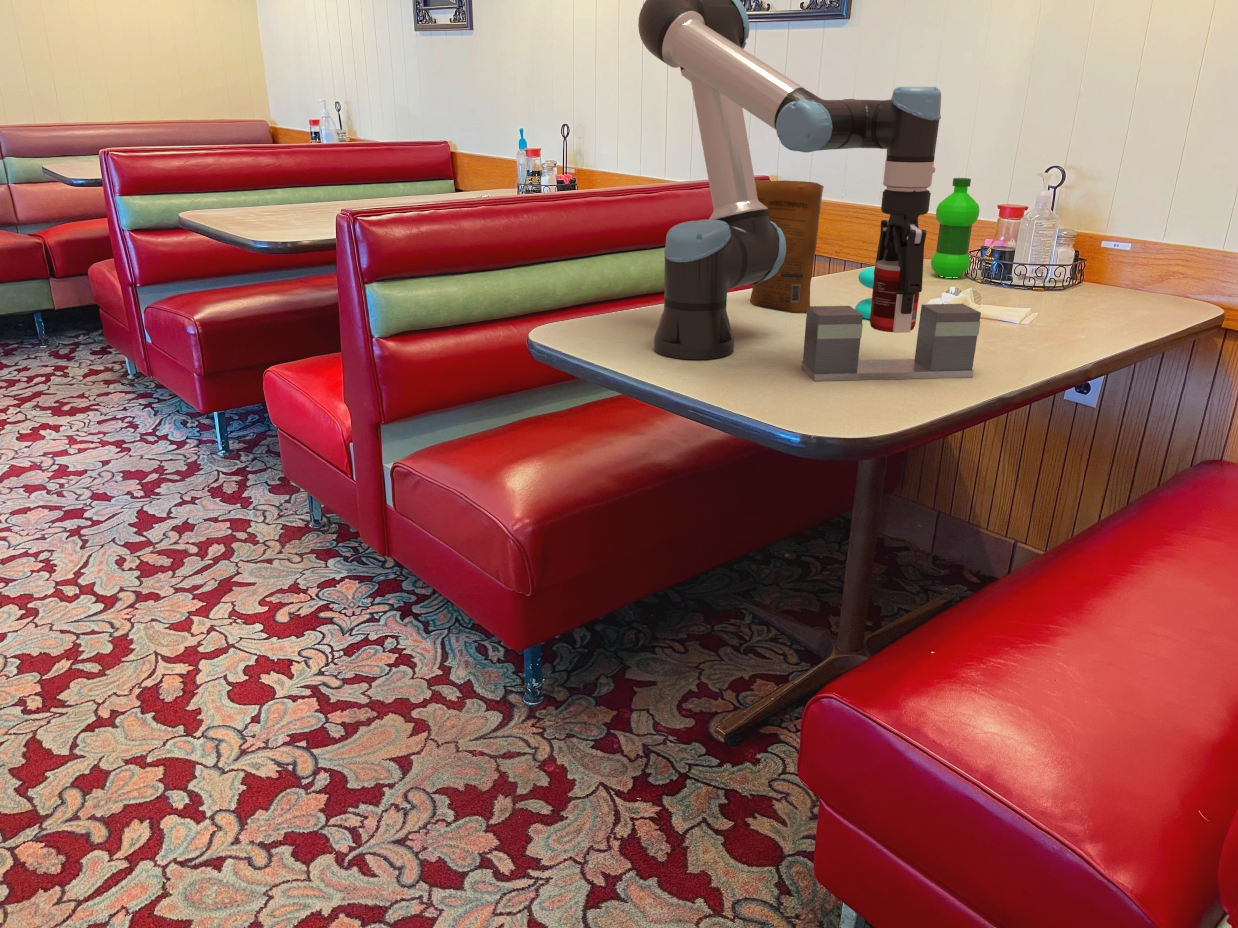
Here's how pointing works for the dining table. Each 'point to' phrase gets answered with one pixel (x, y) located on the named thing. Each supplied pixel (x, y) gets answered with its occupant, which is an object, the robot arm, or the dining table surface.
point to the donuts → (867, 280)
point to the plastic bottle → (955, 231)
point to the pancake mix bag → (790, 243)
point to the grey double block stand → (938, 355)
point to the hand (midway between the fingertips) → (891, 326)
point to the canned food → (887, 296)
